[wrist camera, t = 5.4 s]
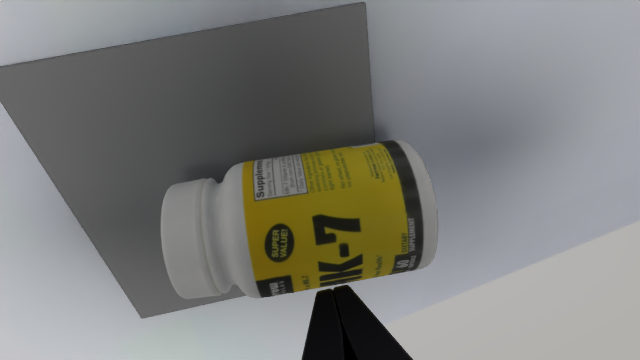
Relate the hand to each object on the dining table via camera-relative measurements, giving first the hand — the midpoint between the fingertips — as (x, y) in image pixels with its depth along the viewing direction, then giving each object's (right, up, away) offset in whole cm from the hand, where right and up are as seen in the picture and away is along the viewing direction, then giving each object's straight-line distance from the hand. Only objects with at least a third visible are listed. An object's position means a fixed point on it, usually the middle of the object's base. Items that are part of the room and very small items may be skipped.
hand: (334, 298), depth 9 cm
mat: (-4, +3, +5) cm, 7 cm away
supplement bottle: (+3, +2, +4) cm, 6 cm away
